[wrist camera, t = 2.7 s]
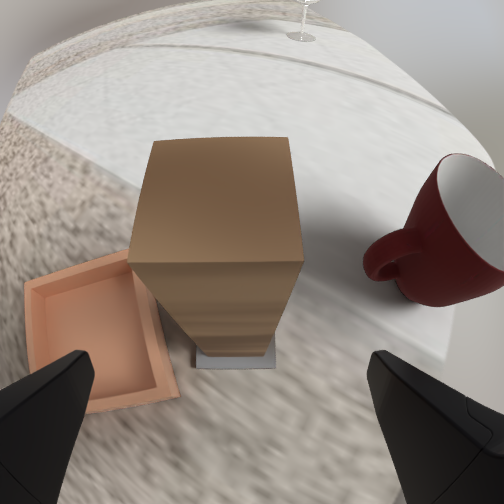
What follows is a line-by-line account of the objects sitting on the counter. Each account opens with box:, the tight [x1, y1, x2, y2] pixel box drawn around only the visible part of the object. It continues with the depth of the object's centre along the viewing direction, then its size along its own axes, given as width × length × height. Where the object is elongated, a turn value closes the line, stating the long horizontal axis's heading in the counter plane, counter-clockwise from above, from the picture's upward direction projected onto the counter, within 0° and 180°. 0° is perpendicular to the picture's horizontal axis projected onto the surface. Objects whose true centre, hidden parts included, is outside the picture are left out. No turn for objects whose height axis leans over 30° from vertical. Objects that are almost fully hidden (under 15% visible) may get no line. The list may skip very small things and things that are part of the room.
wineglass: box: [287, 0, 321, 42], centre depth 36 cm, size 7×7×12 cm
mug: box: [363, 153, 504, 307], centre depth 17 cm, size 10×8×10 cm
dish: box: [24, 249, 181, 414], centre depth 18 cm, size 10×10×2 cm
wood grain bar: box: [127, 137, 304, 369], centre depth 13 cm, size 5×5×14 cm
